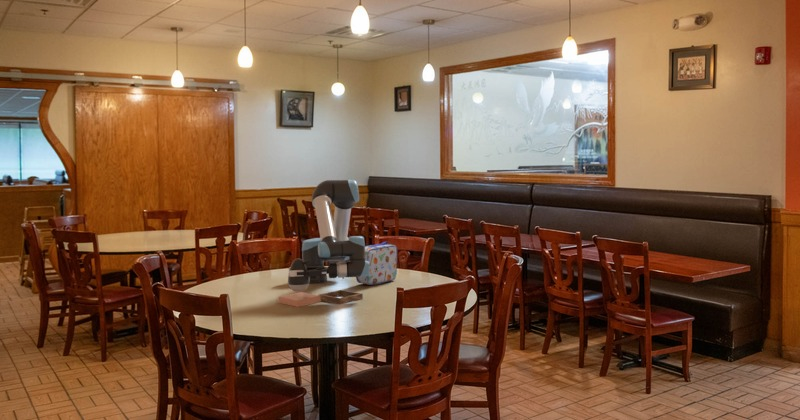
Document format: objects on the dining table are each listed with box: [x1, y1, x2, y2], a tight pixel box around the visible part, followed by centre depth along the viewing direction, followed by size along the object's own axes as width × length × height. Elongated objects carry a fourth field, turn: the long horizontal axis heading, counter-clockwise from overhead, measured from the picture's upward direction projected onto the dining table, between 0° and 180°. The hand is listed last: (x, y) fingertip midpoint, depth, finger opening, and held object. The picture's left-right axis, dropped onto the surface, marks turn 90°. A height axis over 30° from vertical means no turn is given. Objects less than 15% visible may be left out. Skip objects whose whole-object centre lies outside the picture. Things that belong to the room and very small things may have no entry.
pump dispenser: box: [287, 258, 311, 293], centre depth 318 cm, size 10×10×15 cm
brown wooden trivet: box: [317, 289, 364, 305], centre depth 325 cm, size 15×15×2 cm
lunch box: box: [355, 241, 398, 286], centre depth 366 cm, size 28×10×22 cm, turn 143°
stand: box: [277, 291, 322, 308], centre depth 319 cm, size 14×14×3 cm
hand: (289, 271), depth 317 cm, fingers closed on pump dispenser, 9 cm apart
